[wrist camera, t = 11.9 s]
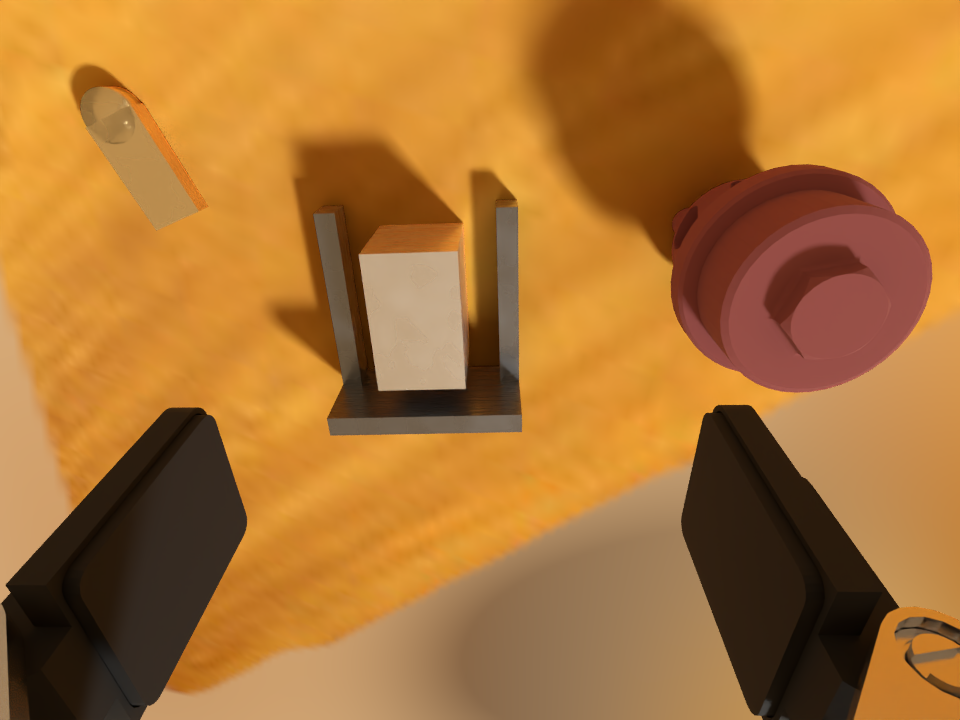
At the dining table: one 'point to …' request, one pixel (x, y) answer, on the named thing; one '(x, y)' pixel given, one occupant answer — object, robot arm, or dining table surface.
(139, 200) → the brass key tag
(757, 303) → the mechanical component
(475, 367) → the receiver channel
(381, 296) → the aluminium block
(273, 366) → the dining table surface
